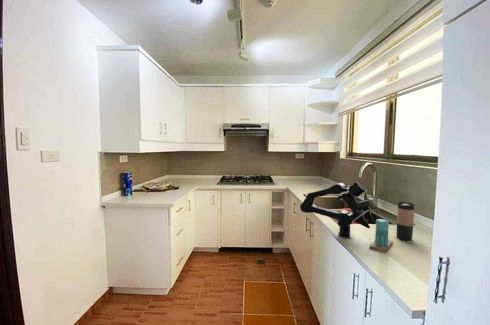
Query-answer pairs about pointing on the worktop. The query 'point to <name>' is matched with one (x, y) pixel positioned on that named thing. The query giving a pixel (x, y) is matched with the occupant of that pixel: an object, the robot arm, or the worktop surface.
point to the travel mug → (405, 221)
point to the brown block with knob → (380, 247)
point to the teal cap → (381, 232)
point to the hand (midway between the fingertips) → (372, 225)
